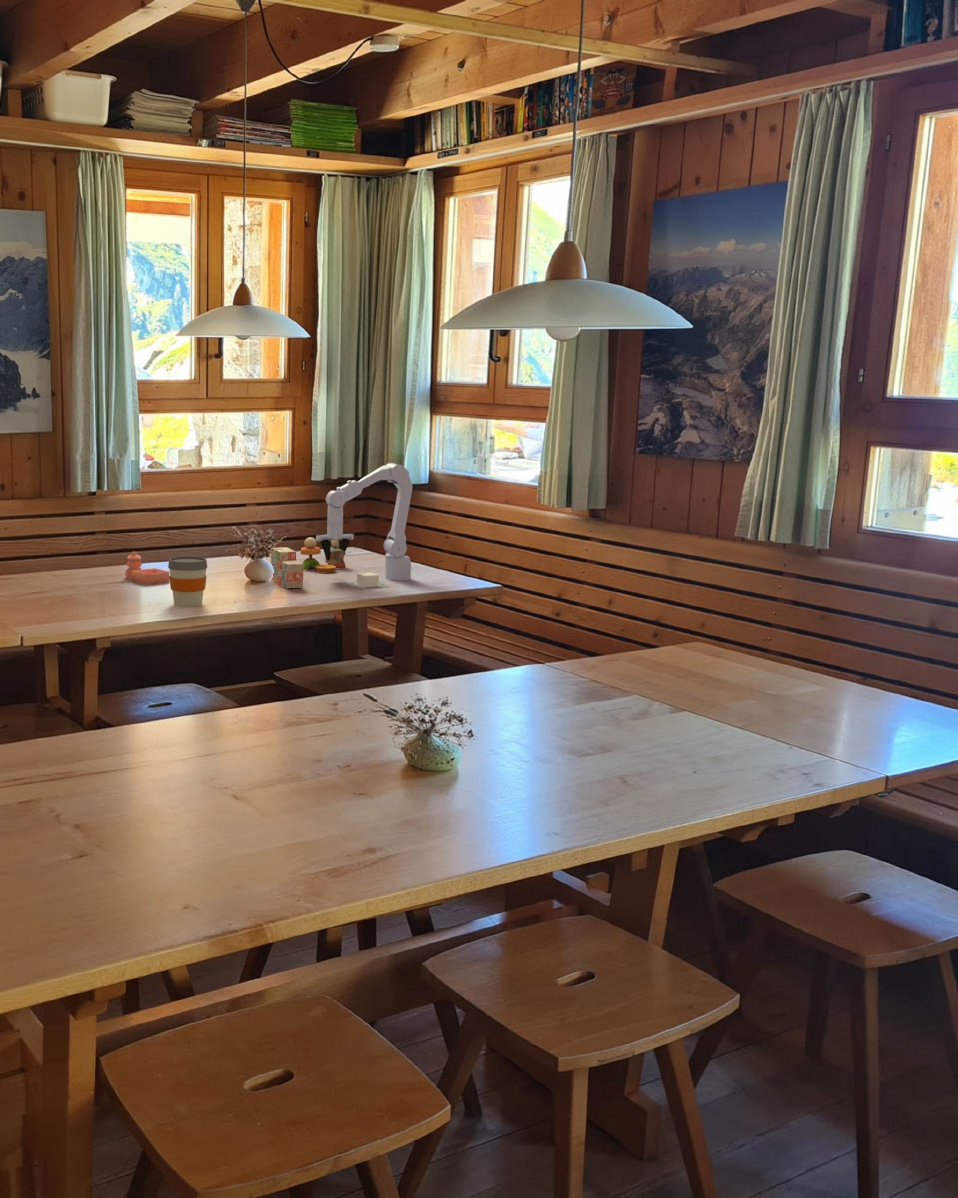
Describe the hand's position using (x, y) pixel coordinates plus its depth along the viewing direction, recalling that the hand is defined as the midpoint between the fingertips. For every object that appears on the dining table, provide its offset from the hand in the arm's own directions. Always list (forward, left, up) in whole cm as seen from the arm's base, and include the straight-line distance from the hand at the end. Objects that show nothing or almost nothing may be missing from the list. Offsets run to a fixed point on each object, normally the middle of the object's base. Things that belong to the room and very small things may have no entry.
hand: (334, 559), depth 441 cm
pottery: (+64, -26, -9) cm, 69 cm away
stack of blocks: (+19, -2, -9) cm, 20 cm away
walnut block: (0, 0, -1) cm, 1 cm away
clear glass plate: (-8, +12, -8) cm, 17 cm away
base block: (-8, +12, -8) cm, 17 cm away
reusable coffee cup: (+63, +21, -9) cm, 67 cm away
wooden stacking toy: (-9, -26, -9) cm, 29 cm away
